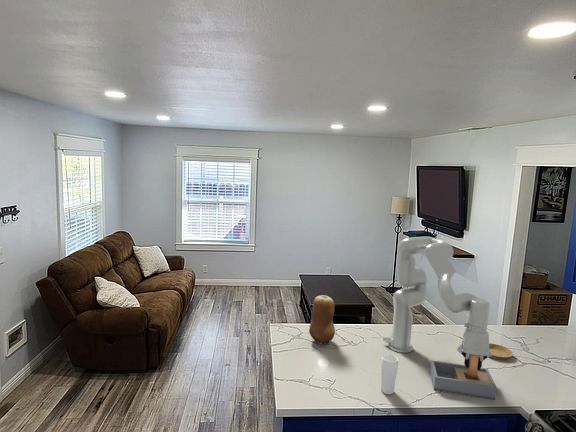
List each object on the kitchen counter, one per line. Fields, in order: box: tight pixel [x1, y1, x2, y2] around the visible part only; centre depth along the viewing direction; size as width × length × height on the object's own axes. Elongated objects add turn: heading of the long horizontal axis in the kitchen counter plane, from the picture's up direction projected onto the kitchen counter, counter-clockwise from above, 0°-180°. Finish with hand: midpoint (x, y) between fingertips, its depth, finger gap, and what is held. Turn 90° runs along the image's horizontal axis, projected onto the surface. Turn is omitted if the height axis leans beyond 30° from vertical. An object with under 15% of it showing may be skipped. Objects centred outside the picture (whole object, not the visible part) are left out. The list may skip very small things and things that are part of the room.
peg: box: [467, 354, 479, 377], centre depth 172 cm, size 4×4×10 cm
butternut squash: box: [308, 294, 336, 345], centre depth 209 cm, size 14×13×25 cm
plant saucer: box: [489, 342, 513, 360], centre depth 205 cm, size 15×15×3 cm
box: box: [429, 360, 497, 401], centre depth 174 cm, size 24×15×6 cm, turn 76°
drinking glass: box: [380, 354, 399, 395], centre depth 167 cm, size 7×7×15 cm
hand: (472, 367), depth 172 cm, fingers closed on peg, 4 cm apart
